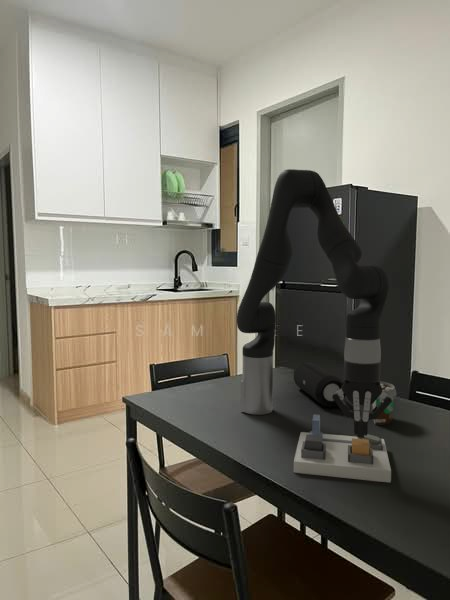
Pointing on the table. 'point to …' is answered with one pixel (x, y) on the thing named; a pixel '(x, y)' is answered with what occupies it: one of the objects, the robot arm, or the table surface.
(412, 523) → the table surface
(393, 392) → the food container
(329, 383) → the portable speaker
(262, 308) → the robot arm
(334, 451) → the control panel
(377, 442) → the olive rocker
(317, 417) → the blue paddle
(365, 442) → the orange push button
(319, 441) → the gray push button
